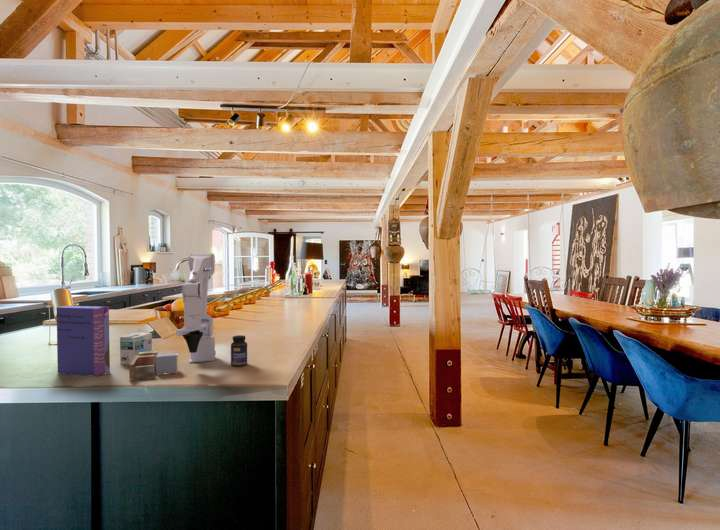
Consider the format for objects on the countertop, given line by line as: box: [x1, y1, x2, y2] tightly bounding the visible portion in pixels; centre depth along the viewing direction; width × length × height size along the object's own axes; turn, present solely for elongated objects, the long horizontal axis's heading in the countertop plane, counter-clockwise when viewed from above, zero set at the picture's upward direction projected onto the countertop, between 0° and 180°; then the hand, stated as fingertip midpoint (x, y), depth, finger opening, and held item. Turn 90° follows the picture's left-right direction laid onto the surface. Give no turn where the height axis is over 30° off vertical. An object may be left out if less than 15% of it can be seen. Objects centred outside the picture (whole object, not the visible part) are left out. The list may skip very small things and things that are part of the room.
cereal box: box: [56, 305, 111, 377], centre depth 146 cm, size 17×5×24 cm, turn 78°
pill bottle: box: [230, 335, 248, 367], centre depth 156 cm, size 6×6×11 cm
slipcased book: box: [155, 352, 179, 375], centre depth 146 cm, size 7×4×6 cm, turn 111°
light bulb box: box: [119, 331, 153, 365], centre depth 163 cm, size 11×7×11 cm, turn 172°
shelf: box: [128, 350, 159, 382], centre depth 145 cm, size 7×15×6 cm, turn 21°
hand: (193, 352), depth 149 cm, fingers closed
